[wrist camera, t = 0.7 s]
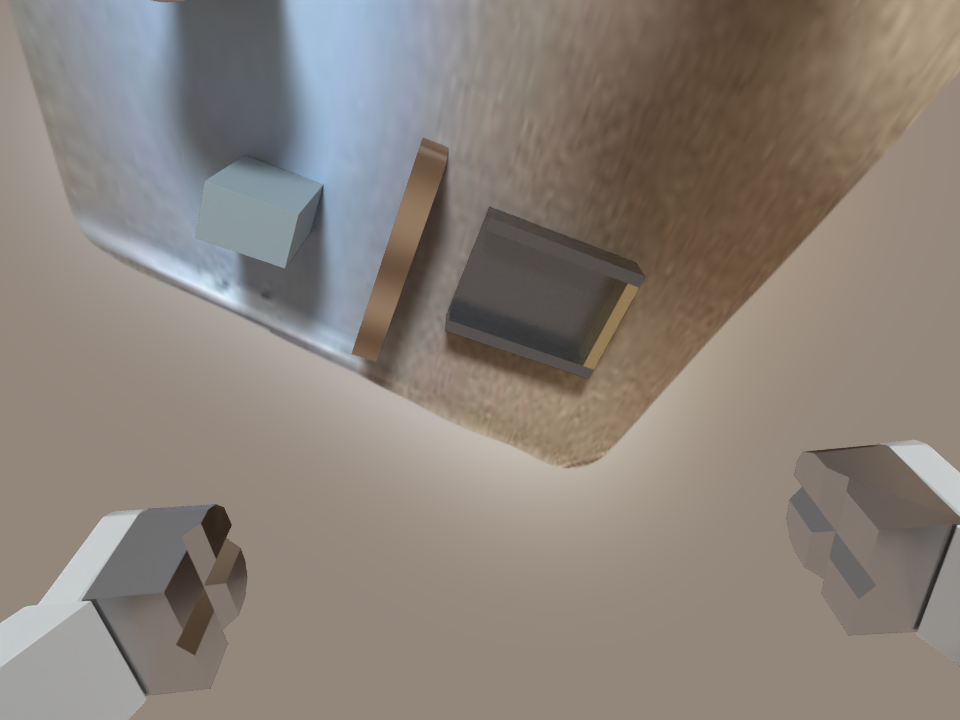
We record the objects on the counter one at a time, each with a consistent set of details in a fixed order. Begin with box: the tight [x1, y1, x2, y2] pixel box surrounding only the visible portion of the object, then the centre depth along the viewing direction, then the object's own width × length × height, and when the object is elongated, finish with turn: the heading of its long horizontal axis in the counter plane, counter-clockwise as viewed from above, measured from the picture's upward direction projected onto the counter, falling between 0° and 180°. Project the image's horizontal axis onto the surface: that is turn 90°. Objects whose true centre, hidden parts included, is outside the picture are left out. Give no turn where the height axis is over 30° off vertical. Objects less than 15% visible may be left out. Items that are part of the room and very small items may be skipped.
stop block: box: [195, 155, 323, 268], centre depth 44 cm, size 4×6×8 cm, turn 69°
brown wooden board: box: [352, 138, 448, 362], centre depth 47 cm, size 16×2×6 cm, turn 159°
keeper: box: [445, 207, 645, 379], centre depth 50 cm, size 10×13×3 cm
